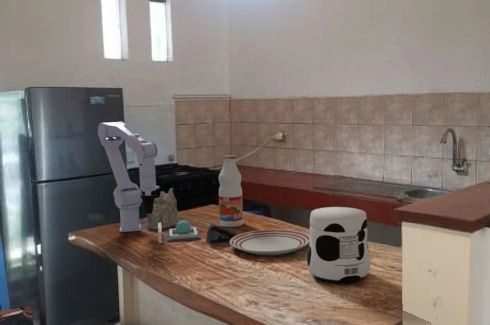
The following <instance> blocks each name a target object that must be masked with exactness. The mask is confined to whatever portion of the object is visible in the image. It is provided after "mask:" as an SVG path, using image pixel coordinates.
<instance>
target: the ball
mask: <svg viewBox="0 0 490 325" xmlns="http://www.w3.org/2000/svg"><path fill="white" fill-rule="evenodd" d="M175 229H176V232H177V233H178V234H179V235H180V234H188V233H189V232H190V229H191V224H190V222H188V221H187V220H184V219H183V220H179V222H178V223H177V225H175Z"/></svg>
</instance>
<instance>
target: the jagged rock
mask: <svg viewBox="0 0 490 325" xmlns="http://www.w3.org/2000/svg"><path fill="white" fill-rule="evenodd" d="M173 190H174V189H173V187H171V188H169V190H168V193H167V192H165V191H160V194H159V197H155V200H154V204H153V212H152V214H146V217H147V220H146V222H145V225H144V228H146V229H151V230H158V223H161V229H165V228H171V226H172V227H175V226H176V224H177V223H178V222H179V221H180V219H179V216H178V215H179V214H178V211H179V210H178V208H177V203H178V199H176V197H175V194H174V192H173ZM174 225H175V226H174Z"/></svg>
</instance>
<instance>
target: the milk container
mask: <svg viewBox="0 0 490 325" xmlns="http://www.w3.org/2000/svg"><path fill="white" fill-rule="evenodd" d="M309 236H310V243H309V246H308V250H307V255H306V264H307V268H308V271H309V272H310V274H311V275H312V276H314V278H315V277H316V278H317V279H319V280H321V281H322V280H323V281H326V282H333V283H351V282H357V281H359V280H362V279H364V278H365V277H366V276H368V274H369V272H370V269H371V254H370V250H369V246H368V219H367V212H366V211H365V210H363V209H358V208H354V207H343V206H330V207H329V206H328V207H320V208H315V209H313V210H312V211H311V212H310V217H309Z"/></svg>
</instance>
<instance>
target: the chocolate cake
mask: <svg viewBox="0 0 490 325" xmlns="http://www.w3.org/2000/svg"><path fill="white" fill-rule="evenodd" d="M239 234H240V233H238V232H236V231H232V230H230V229H227V228H226V227H224V226H221V225H217V224H214V223H209V227H208V229H207V232H206V237H205V241H206V242H208V244H209V245H210V246H215V245H216V244H217V245H222V244H221V243H224V244H230V240H231V239H232V238H233V237H235V236H237V235H239ZM220 238H221V239H220Z"/></svg>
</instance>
